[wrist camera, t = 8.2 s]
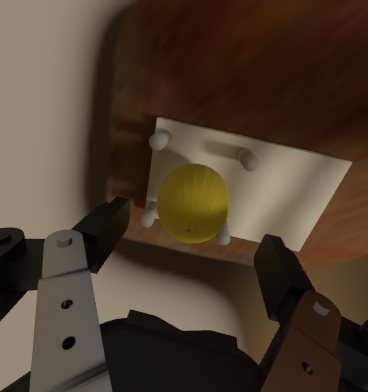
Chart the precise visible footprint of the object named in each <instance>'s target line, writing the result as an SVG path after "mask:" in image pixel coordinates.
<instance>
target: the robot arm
mask: <svg viewBox="0 0 368 392" xmlns="http://www.w3.org/2000/svg"><path fill="white" fill-rule="evenodd" d="M130 205H131V201H130V199H126V198H122V197H118V196H117V197H116V198H115V199H114V200H113V201H112V202H111V203H107V202H106V203H103V204H101V205H98V206H97V207H96V208H95V209H94V210H93V211H92V212H90V213H89V214H88V216H86V217H84V218H83V219H82V220H81V221H80V222H79V223H78V224H76V225H75V226H74V227H73V228H72V229H71V230H61V231H57V232H54V233H52V234H51V235H49V236H48V237H47V238H46V239H25V236H24V232H23V231H22V230H20V229H18V228H0V321H1V320H2V319H3V318H4V317H5V316H6V314H7V313H8V312H9V311H10V310H11V309H12V308H13V307H14V305H16V303H17V302H18V301H19V300H20V299H21V298H22V297H23V296H24V294H26V292H27V291H29V290H38V292H37V304H36V317H35V329H34V341H33V353H32V366H31V371H29V372H28V373H26V374H25V375H23V376H22V377H21V378H19V379H18V380H16V381H15V382H13V383H12V384H10V385H9V386H7V387H6V388H4V389H3V390H1V391H0V392H368V320H367V321H365V322H364V323H363V324H362V325H359V324H356V323H355V322H352V321H351V320H348V319H347V318H345V317H343V316H341V314H340V311H339V310H338V308H337V307H336V306H335V305H334V303H333V302H331V301H330V300H329V299H328V298H326V297H325V296H323V295H322V294H320V293H318V292H316V291H315V289H314V287H313V286H312V284H311V282H310V280H309V278H308V276H307V275H306V273H305V271H304V270H303V268H302V266H301V264H300V262H299V260H298V259H297V257H296V255H295V254H294V253H293V252H292V251H291V250H290V249H289V248H287V247H286V246H285V244H284V242H283V240H282V238H281V237H279V236H275V235H271V234H265V235H264V237H263V239H262V241H261V243H260V245H259V247H258V249H257V251H256V253H255V256H254V266H255V269H256V273H257V277H258V281H259V284H260V288H261V292H262V296H263V300H264V303H265V307H266V311H267V315H268V318H269V320H273V321H277V322H279V324H280V327H279V328H278V330H277V331H276V333H275V335H274V337H273V339H272V341H271V343H270V345H269V347H268V349H267V350H266V352H265V354H264V356H263V358H262V360H261V362H260V364H259V365H258V364H257V363H256V362H255V361H254V360H253V359H252V358H251V357H250V356H248V355H247V354H246V353H245V352H243V351H242V350H240V349H239V348H238V346H237V338H236V337H234V336H230V335H226V334H222V333H219V332H215V331H211V330H207V331H206V330H204V331H203V330H201V331H182V330H180V329H178V328H176V327H174V326H173V325H171V324H169V323H167V322H166V321H164V320H162V319H160V318H159V317H157V316H153V315H150V314H146V313H143V312H139V311H135V310H130V312H129V314H128V317H127V318H121V319H115V320H111V321H108V322H105V323H103V324H100V325H99V320H98V315H97V309H96V303H95V297H94V291H93V285H92V280H91V274H90V272H91V273H95V274H97V273H98V271H99V270H100V268H101V267H102V265H103V264H104V262H105V261H106V260H107V258H108V257H109V255H110V254H111V252H112V251H113V249H114V248H115V246H116V245H117V243H118V242H119V241H120V239H121V238H122V236H123V235H124V233H125V232H126V230H127V227H128V224H129V216H130Z"/></svg>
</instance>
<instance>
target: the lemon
mask: <svg viewBox="0 0 368 392" xmlns="http://www.w3.org/2000/svg"><path fill="white" fill-rule="evenodd" d="M229 209H230V195H229V191H228V188H227V185H226V183H225V181H224V180H223V179H222V177H221V176H220V175H219V174H218V173H217V172H216V171H215V170H213V169H212V168H210V167H208V166H206V165H201V164H186V165H183V166H180V167H178V168H177V169H175V170H173V171H172V172H171V173H170V174H169V175H168V176H167V177H166V178H165V179H164V181H163V183H162V185H161V187H160V189H159V192H158V197H157V214H158V217H159V220H160V223H161V225H162V226H163V228H164V229H165V231H166V232H167V233H168V234H170V235H171V236H172V237H173V238H175V239H177V240H179V241H182V242H185V243H201V242H204V241H207V240H209V239H210V238H212V237H214V236H215V235H216V234H217V233H218V232H219V231H220V230H221V229H222V228H223V226H224V224H225V222H226V220H227V218H228V213H229Z"/></svg>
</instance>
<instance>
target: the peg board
mask: <svg viewBox="0 0 368 392" xmlns="http://www.w3.org/2000/svg"><path fill="white" fill-rule="evenodd" d="M149 144H150V146H151V148H152V149H153V153H152V160H151V168H150V175H149V183H148V191H147V198H146V206H145V211H144V213H143V214H142V216H141V218H140V220H139V222H140V224H141V225H142V226H143V227H150V226H151V225H152V223H153V221H154V219H155V218H157V219H159V217H158V214H157V197H158V192H159V189H160V187H161V185H162V183H163V181H164V179H165V178H166V177H167V176H168V175H169V174H170V173H171V172H172V171H173V170H175V169H177V168H178V167H180V166H183V165H186V164H201V165H206V166H208V167H210V168H212V169H213V170H215V171H216V172H217V173H218V174H219V175H220V176H221V177H222V179H223V180H224V181H225V183H226V185H227V188H228V191H229V195H230V209H229V213H228V218H227V220H226V222H225V224H224V226H223V228H222V229H221V230H220V231H219V232H218V233H217V234H216V237H217V242H218V243H219V244H220V245H227V244H228V243H229V242H230V236H234V237H238V238H242V239H247V240H251V241H255V242H259V243H261V241H262V239H263V237H264V235H265V234H271V235H275V236H279V237H281V238H282V240H283V242H284V244H285V246H286V247H287V248H289V249H290V250H294V251H298V252H299V251H300V249H301V247H302V246H303V244H304V242H305V241H306V239H307V237H308V236H309V234H310V232H311V231H312V229H313V227H314V226H315V224H316V222H317V221H318V219H319V217H320V216H321V214H322V212H323V211H324V209H325V207H326V206H327V204H328V202H329V201H330V199H331V197H332V196H333V194H334V192H335V191H336V189H337V187H338V186H339V184H340V182H341V181H342V179H343V177H344V176H345V174H346V172H347V171H348V169H349V167H350V166H351V164H352V162H351V161H348V160H345V159H343V158H339V157H335V156H331V155H326V154H322V153H317V152H313V151H309V150H304V149H300V148H295V147H291V146H287V145H282V144H278V143H273V142H269V141H265V140H260V139H256V138H251V137H247V136H243V135H238V134H234V133H229V132H225V131H221V130H216V129H212V128H207V127H203V126H199V125H194V124H190V123H185V122H181V121H177V120H172V119H168V118H163V117H158V118H157V123H156V130H155V134H153V135H152V136H151V137H150V139H149Z"/></svg>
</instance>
